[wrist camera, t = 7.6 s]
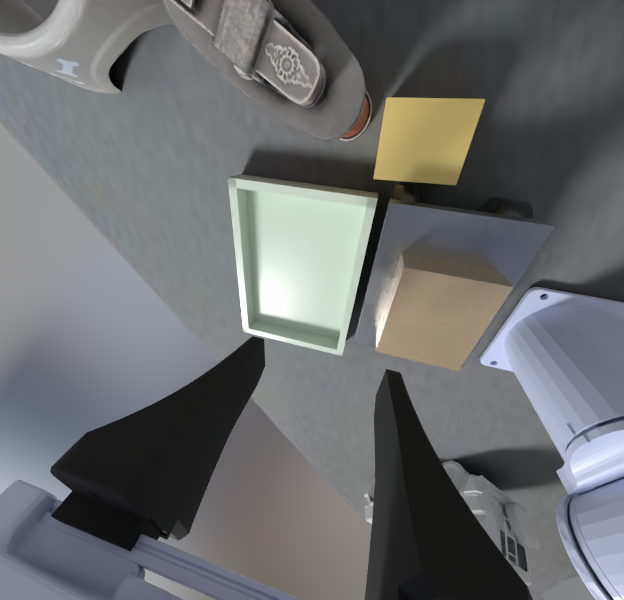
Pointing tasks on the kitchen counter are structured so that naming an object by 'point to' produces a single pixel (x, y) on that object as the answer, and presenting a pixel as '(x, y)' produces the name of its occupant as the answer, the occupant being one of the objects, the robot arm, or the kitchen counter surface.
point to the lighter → (281, 61)
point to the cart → (444, 275)
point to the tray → (299, 257)
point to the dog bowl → (76, 35)
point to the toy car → (490, 516)
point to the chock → (426, 139)
